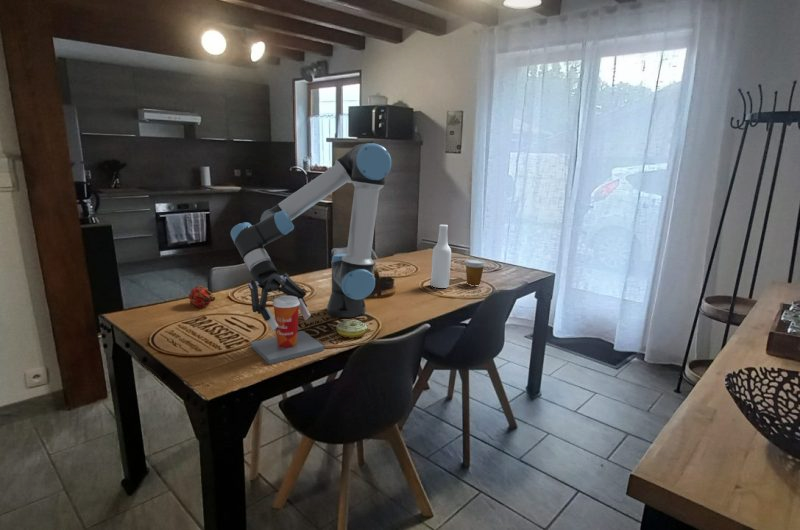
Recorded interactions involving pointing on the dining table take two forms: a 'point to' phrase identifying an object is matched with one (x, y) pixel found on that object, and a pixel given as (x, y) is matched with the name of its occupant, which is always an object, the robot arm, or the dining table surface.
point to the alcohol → (441, 260)
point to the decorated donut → (351, 328)
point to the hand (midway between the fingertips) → (292, 322)
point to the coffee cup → (286, 320)
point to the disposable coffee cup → (474, 271)
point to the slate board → (278, 354)
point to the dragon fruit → (200, 297)
